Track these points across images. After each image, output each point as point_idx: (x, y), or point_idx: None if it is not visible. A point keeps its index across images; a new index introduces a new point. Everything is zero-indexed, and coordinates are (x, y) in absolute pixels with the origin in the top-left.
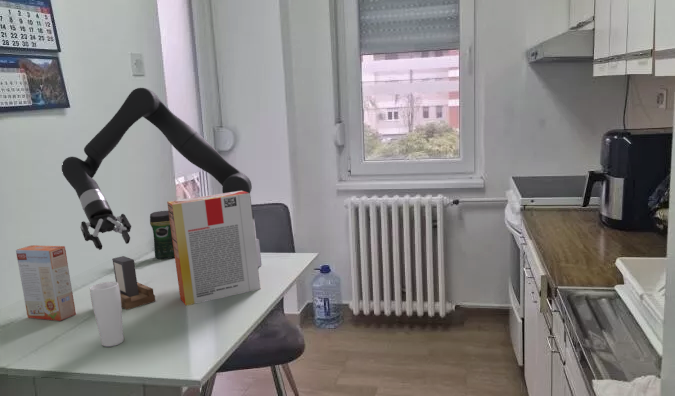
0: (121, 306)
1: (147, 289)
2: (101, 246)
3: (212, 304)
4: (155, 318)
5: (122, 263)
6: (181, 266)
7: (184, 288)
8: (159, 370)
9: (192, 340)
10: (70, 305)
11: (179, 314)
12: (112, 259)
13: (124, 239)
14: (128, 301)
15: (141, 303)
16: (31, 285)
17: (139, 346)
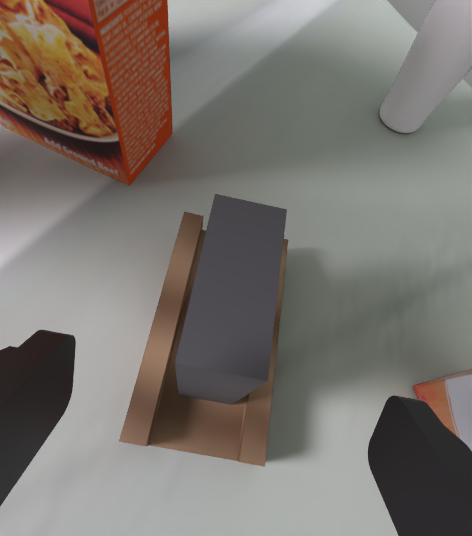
0: (419, 30)
1: (200, 223)
2: (397, 401)
3: None
4: (272, 138)
5: (284, 214)
6: (164, 3)
7: (168, 86)
8: (382, 11)
9: (297, 24)
10: (455, 375)
11: (225, 109)
12: (266, 381)
13: (34, 439)
14: None
15: None
16: None
17: (368, 74)
